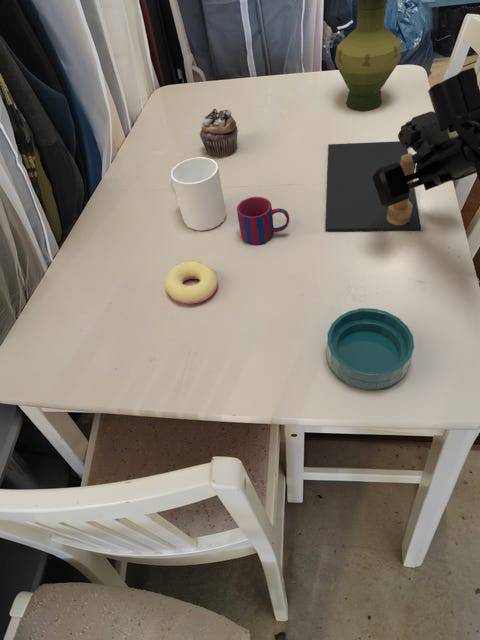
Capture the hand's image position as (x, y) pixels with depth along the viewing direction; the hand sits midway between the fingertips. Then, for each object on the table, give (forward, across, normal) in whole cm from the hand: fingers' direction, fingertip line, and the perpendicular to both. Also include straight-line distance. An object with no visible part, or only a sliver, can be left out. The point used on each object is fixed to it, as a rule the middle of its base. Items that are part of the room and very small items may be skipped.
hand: (401, 184), depth 82 cm
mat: (+15, -2, -3) cm, 15 cm away
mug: (+21, +34, -10) cm, 41 cm away
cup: (+12, +24, -1) cm, 27 cm away
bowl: (-12, +23, +24) cm, 35 cm away
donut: (+8, +42, +4) cm, 43 cm away
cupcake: (+38, +20, -27) cm, 51 cm away
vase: (+38, -22, -26) cm, 51 cm away
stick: (+4, 0, +6) cm, 7 cm away
